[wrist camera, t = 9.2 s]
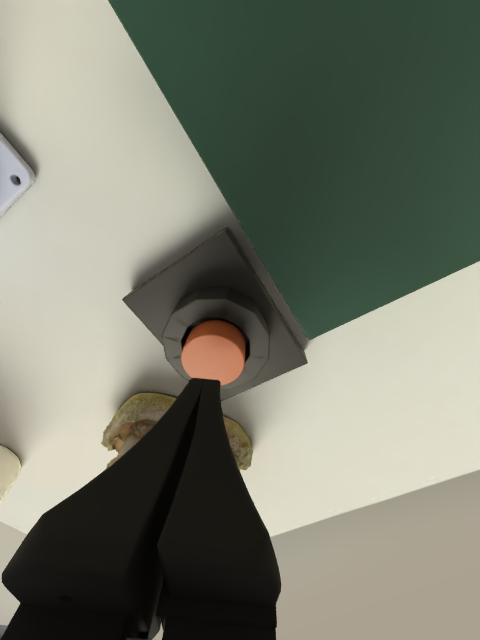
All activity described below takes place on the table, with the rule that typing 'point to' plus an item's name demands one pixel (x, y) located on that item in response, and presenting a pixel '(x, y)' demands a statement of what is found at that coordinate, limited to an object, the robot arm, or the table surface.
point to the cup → (7, 470)
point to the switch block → (218, 310)
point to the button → (214, 352)
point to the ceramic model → (146, 413)
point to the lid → (331, 136)
